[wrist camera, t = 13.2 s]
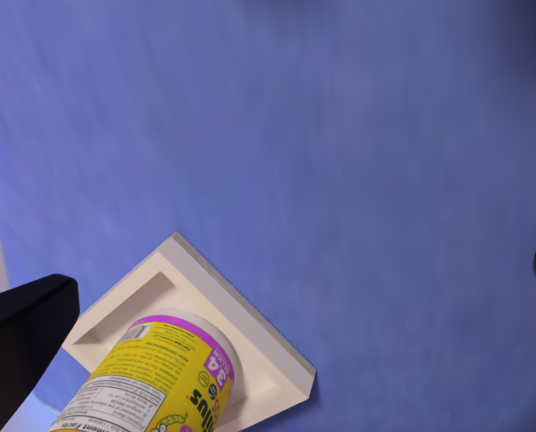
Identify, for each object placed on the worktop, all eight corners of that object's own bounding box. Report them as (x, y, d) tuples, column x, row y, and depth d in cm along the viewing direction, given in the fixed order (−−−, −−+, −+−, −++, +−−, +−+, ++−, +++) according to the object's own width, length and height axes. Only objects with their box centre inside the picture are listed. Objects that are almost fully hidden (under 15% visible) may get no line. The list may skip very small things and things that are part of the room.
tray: (316, 370, 27) (308, 398, 25) (197, 430, 32) (184, 456, 31) (176, 230, 25) (157, 251, 23) (76, 318, 30) (55, 340, 29)
